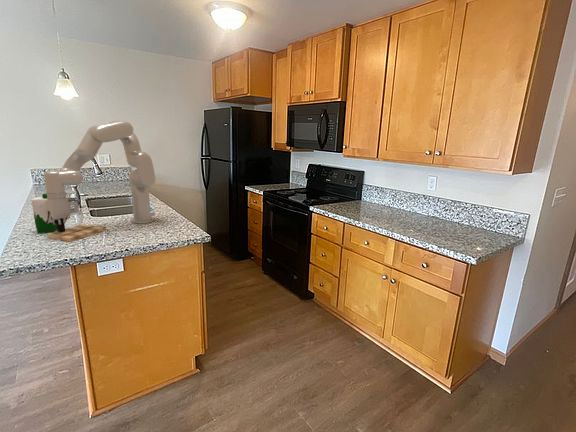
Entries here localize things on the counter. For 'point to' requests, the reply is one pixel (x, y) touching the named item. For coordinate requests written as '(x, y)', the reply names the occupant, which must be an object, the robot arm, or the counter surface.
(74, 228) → the tan wooden board
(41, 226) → the milk carton
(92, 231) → the laid floor row
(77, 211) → the french press
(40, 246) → the counter surface
